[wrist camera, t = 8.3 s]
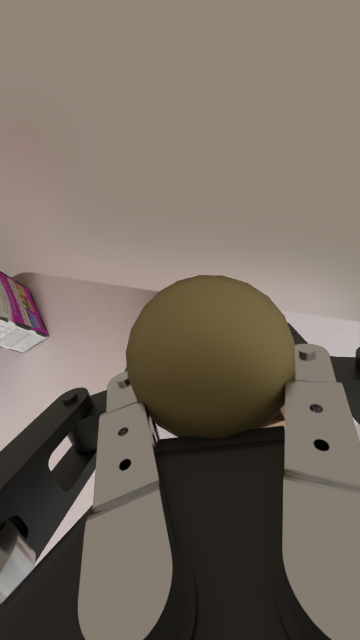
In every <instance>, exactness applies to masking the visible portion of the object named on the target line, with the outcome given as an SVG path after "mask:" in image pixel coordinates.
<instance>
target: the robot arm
mask: <svg viewBox="0 0 360 640" xmlns="http://www.w3.org/2000/svg"><path fill="white" fill-rule="evenodd" d="M287 324H288V326H289V329H290V331H291V334H292V337H293V339H294V343H295V373H296V375H295V378H294V379H290V380H288V381H286V382H285V428H284V426H275V427H266V428H257V429H250V430H247V431H244V432H241V433H238V434H235V435H233V436H230V437H227V438H224V439H221V440H213V439H204V438H196V437H187V436H186V437H177V438H168V439H160V437H159V433H158V428H157V424H156V423H155V421H154V420H153V419H152V418H151V417H150V416H149V414H148V413H147V410H146V407H145V404H144V402H143V401H140V400H139V401H137V399H136V396H135V394H134V391H133V389H132V387H131V384H130V382H129V379H128V374H127V368H126V370H125V372H123V373H120V374H118V375H116V376H115V377H113V378H112V379H111V380H110V381H109V383H108V385H107V390H105V391H103V392H100V393H97V394H94V395H91V396H90V395H89V392H88V390H87V389H86V388H75V389H72V390H70V391H68V392H66V393H64V394H62V395H61V396H60V397H59V398H57V399H56V400H55V401H54V402H53V403H52V404H51V405H50V406H49V407H48V408H47V409H46V410H45V411H43V412H42V413H41V414H40V415H39V416H38V417H37V418H36V419H35V420H34V421H33V422H32V423H31V424H29V425H28V426H27V427H26V428H25V429H24V430H23V431H22V432H21V433H20V434H19V435H18V436H17V437H16V438H14V439H13V440H12V441H11V442H10V443H9V444H8V445H7V446H6V447H5V448H4V449H3V450H2V451H0V640H360V441H359V438H358V434H357V431H356V428H355V424H354V421H353V418H352V417H354V419H355V420H356V421H357V422H358V423H359V424H360V347H359V348H358V349H357V350H356V357H333V356H329V353H328V351H327V350H326V349H325V348H323V347H321V346H318V345H314V344H308V343H307V342H306V341H305V340H304V339H303V338H302V337H301V335H300V334H299V333H298V332H297V331H296V330H295V329H294V328H293V327H292V326H291V325H290V324H289V323H287ZM66 436H68V438H69V440H70V441H71V443H72V446H71V448H70V449H69V450H68V451H67V452H66V454H65V455H64V456H63V457H62V459H61V460H60V461H59V462H58V464H57V465H56V466H55V467H54V469H53V470H52V471H50V469H49V466H48V462H49V458H50V456H51V454H52V452H53V451H54V450H55V449H56V448H57V446H58V445H59V444H60V443H61V442H62V441H63V439H64V438H65V437H66ZM95 469H96V472H95V485H94V499H93V505H92V506H91V507H90V508H89V509H88V511H87V512H86V513H85V514H84V515H83V516H82V517H81V518H80V519H79V520H78V521H77V522H76V523H75V525H74V526H73V527H72V528H71V529H70V530H69V531H68V532H67V533H66V534H65V535H64V536H63V537H62V539H61V540H60V541H59V542H58V543H57V544H56V545H55V546H54V547H53V548H52V549H51V550H50V551H49V553H48V554H47V555H46V556H45V557H44V558H43V559H42V560H41V561H40V562H39V563H38V564H37V566H36V567H35V562H36V561H37V559H38V558H39V556H40V554H41V553H42V551H43V550H44V548H45V547H46V545H47V543H48V542H49V540H50V539H51V537H52V536H53V534H54V533H55V531H56V529H57V528H58V526H59V525H60V523H61V522H62V520H63V519H64V517H65V515H66V514H67V512H68V511H69V509H70V508H71V506H72V504H73V503H74V501H75V500H76V498H77V497H78V495H79V494H80V492H81V490H82V489H83V487H84V486H85V484H86V483H87V481H88V479H89V478H90V476H91V475H92V473H93V472H94V470H95ZM34 567H35V568H34Z"/></svg>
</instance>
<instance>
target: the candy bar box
mask: <svg viewBox="0 0 360 640" xmlns="http://www.w3.org/2000/svg"><path fill="white" fill-rule="evenodd" d="M48 337H49V336H48V333H47V331H46V328H45V326H44V324H43V322H42V319H41V317H40V315H39V312H38V310H37V307H36V305H35V303H34V300H33V298H32V295H31V293H30V291H29V288H27V287H25V286H24V285H22V284H20V283H19V282H17V281H15V280H14V279H12V278H11V277H9V276H7V275H6V274H4V273H2V272H1V271H0V347H3V348H6V349H10V350H13V351H17V352H21V353H25V352H27V351H28V350H30V349H31V348H33V347H34V346H35V345H37V344H38V343H40V342H42V341H43V340H45V339H46V338H48Z"/></svg>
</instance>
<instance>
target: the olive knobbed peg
mask: <svg viewBox="0 0 360 640" xmlns="http://www.w3.org/2000/svg"><path fill="white" fill-rule="evenodd" d="M126 360H127V374H128V379H129V382H130V384H131V387H132V389H133V391H134V394H135V396H136V399H137V401H139V400H140V401H143V402H144V404H145V407H146V410H147V413H148V414H149V416H150V417H151V418H152V419H153V420H154V421H155V423H156V424H157V425H158V426H160V427H161V428H163V429H165V430H167V431H168V432H170V433H172V434H173V435H175V436H177V437H186V436H187V437H196V438H204V439H213V440H221V439H224V438H227V437H230V436H233V435H235V434H238V433H241V432H244V431H247V430H250V429H257V428H263V427H265V426H267V425H268V424H269V423H270V421H271V420H272V419H273V418H274V417H275V415H276V414H277V413H278V412H279V410H280V409H281V408H282V407H283V405H284V404H285V382H286V381H288V380H290V379H294V378H295V375H296V373H295V343H294V339H293V337H292V334H291V331H290V329H289V326H288V324H287V321H286V319H285V316H284V315H283V314H282V313H281V311H280V310H279V309H278V308H277V307H276V305H275V304H274V303H273V302H272V301H271V299H270V298H269V297H268V296H266V295H265V294H263V293H262V292H260V291H259V290H257V289H256V288H254V287H253V286H251V285H250V284H248V283H245V282H242V281H238V280H235V279H232V278H228V277H225V276H210V275H209V276H208V275H206V276H205V275H204V276H203V275H199V276H195V277H192V278H187V279H184V280H180V281H177V282H175V283H174V284H172V285H170V286H168V287H167V288H165V289H163V290H161V291H160V292H159V293H158V294H157V295H156V296H155V297H154V298H153V299H152V300H151V301H150V302H149V303H148V304H147V305H146V306H145V307H144V308H143V309H142V311H141V313H140V315H139V316H138V318H137V320H136V322H135V324H134V325H133V327H132V329H131V333H130V337H129V341H128V346H127V350H126Z"/></svg>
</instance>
